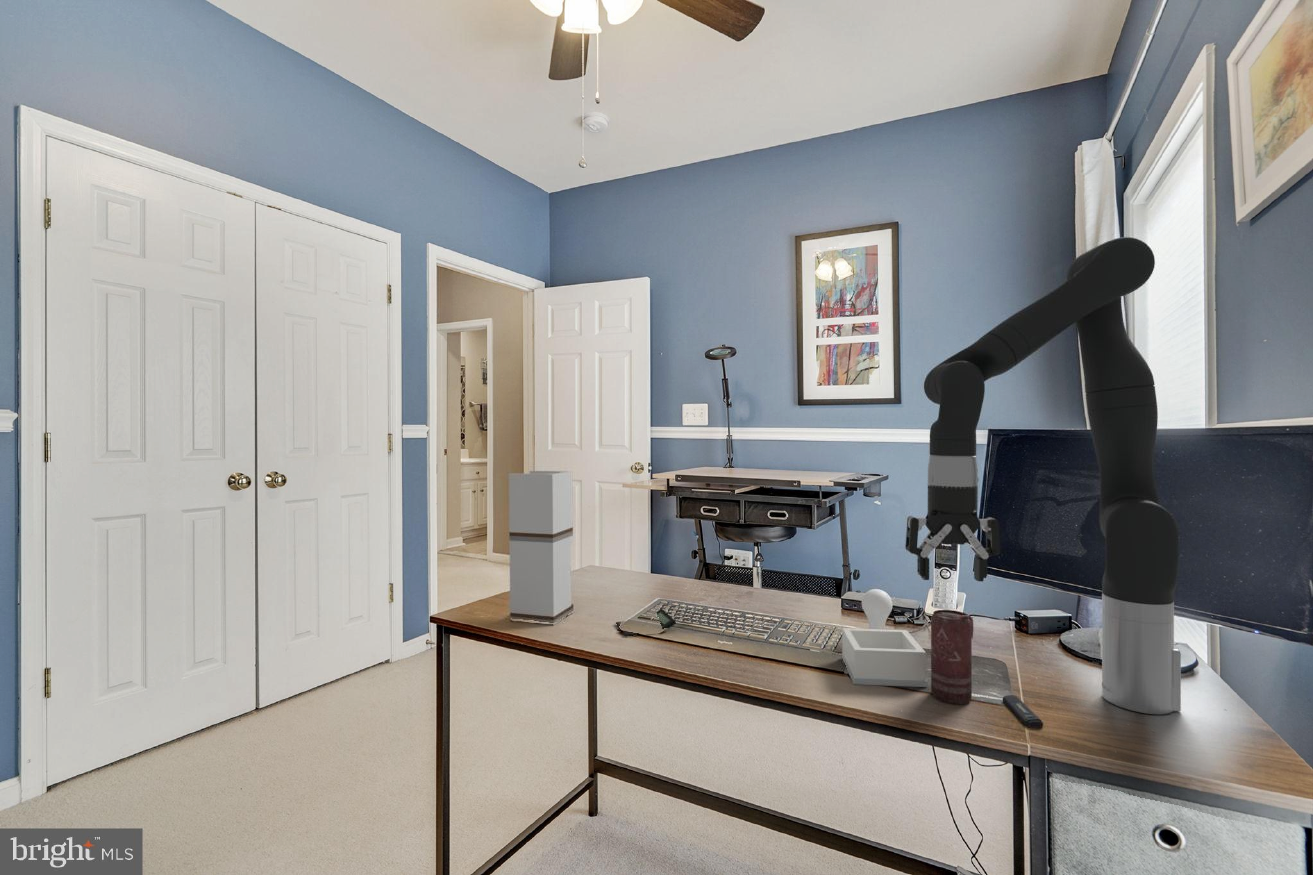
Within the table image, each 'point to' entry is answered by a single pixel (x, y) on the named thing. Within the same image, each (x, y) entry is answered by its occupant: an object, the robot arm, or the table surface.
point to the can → (951, 656)
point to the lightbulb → (876, 608)
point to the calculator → (664, 619)
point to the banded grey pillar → (540, 545)
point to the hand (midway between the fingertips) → (951, 579)
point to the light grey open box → (883, 657)
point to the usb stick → (1022, 711)
